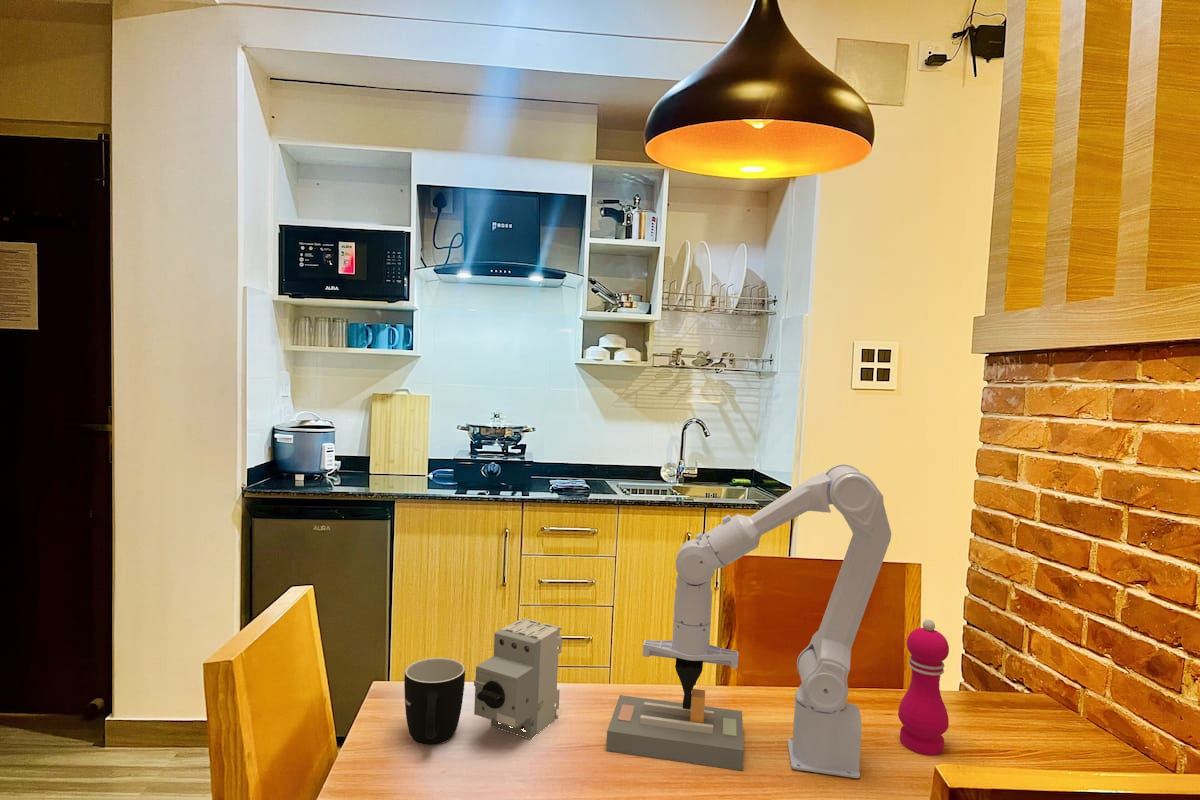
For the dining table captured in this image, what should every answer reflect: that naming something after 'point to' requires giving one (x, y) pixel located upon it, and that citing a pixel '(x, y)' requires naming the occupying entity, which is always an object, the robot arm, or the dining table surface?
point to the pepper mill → (924, 692)
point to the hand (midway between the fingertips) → (687, 706)
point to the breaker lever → (697, 706)
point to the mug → (433, 699)
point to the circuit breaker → (520, 678)
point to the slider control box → (676, 733)
